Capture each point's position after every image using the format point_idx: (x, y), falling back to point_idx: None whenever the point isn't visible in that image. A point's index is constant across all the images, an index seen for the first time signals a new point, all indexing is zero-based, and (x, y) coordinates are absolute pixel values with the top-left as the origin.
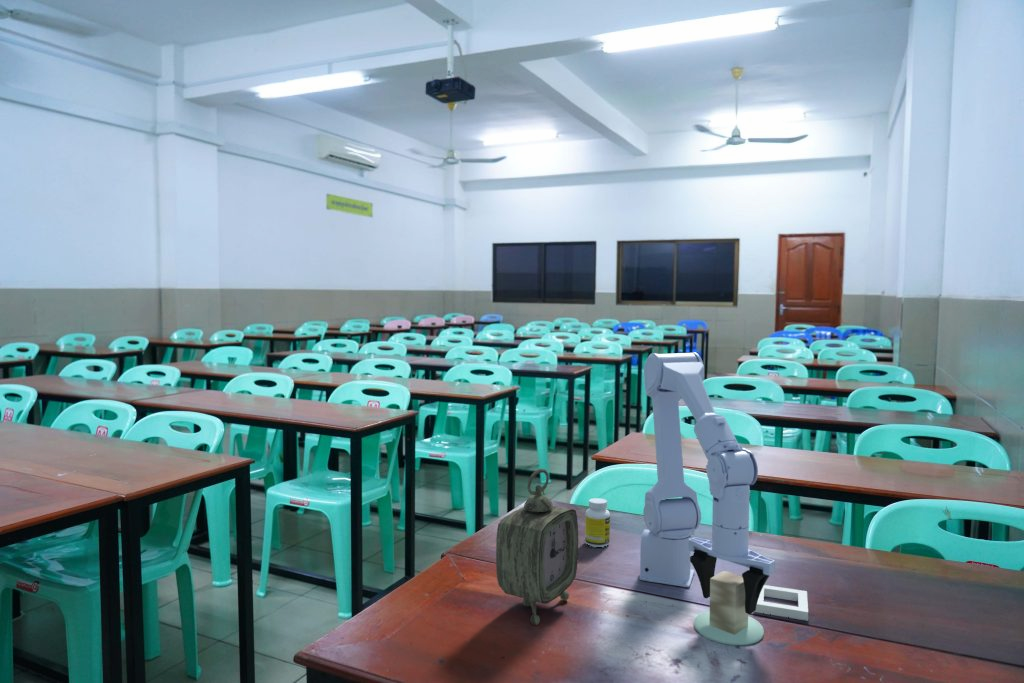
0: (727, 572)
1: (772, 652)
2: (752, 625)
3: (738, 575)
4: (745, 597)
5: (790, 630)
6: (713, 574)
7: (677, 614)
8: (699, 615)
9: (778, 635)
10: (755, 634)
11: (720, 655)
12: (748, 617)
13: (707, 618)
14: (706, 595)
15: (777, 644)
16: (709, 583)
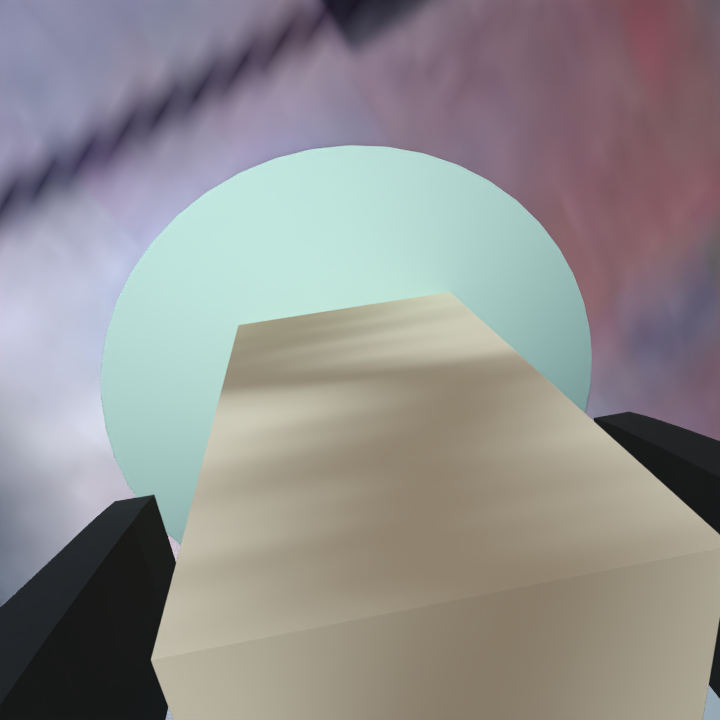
0: (271, 675)
1: (689, 408)
2: (473, 266)
3: (509, 603)
4: (709, 680)
5: (681, 27)
6: (40, 685)
7: (8, 525)
8: (131, 460)
9: (641, 189)
10: (551, 357)
11: None
12: (376, 170)
13: (200, 448)
14: None
15: (680, 306)
16: (123, 676)
